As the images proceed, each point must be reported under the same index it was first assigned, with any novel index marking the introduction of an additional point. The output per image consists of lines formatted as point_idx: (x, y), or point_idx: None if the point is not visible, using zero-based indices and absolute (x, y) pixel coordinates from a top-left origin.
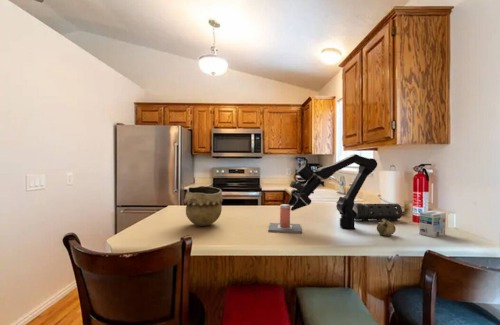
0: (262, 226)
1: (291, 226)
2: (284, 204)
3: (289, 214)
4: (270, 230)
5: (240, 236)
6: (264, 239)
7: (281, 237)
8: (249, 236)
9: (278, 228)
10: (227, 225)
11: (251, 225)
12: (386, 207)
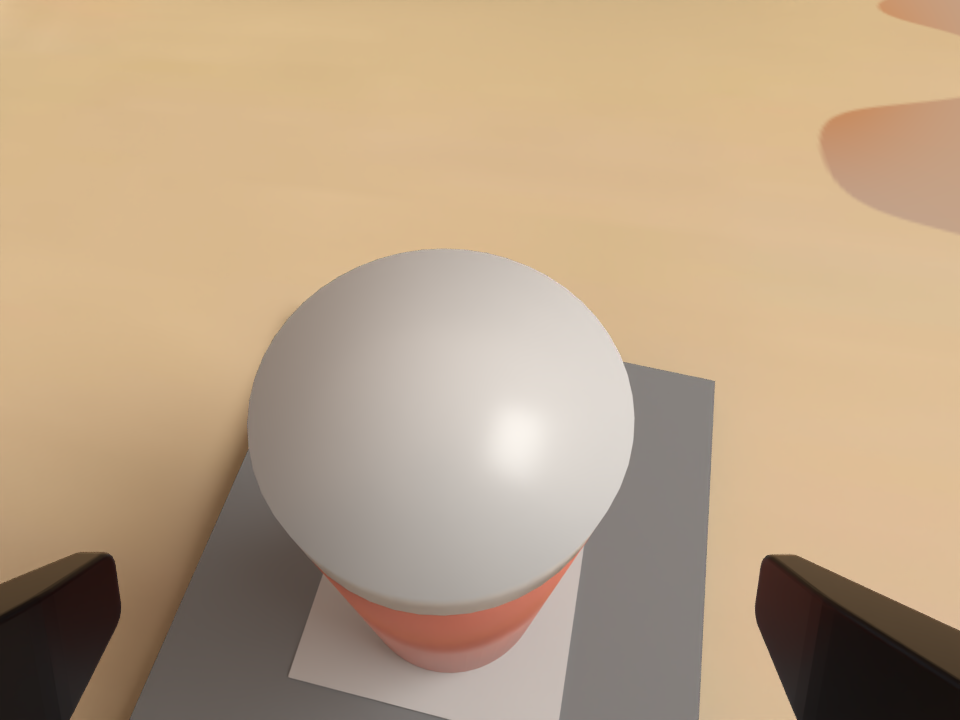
0: (596, 288)
1: (452, 713)
2: (587, 402)
3: (350, 603)
4: None
5: (211, 66)
6: (24, 229)
7: (12, 421)
8: (186, 125)
9: None
10: (622, 7)
11: (639, 183)
12: None
